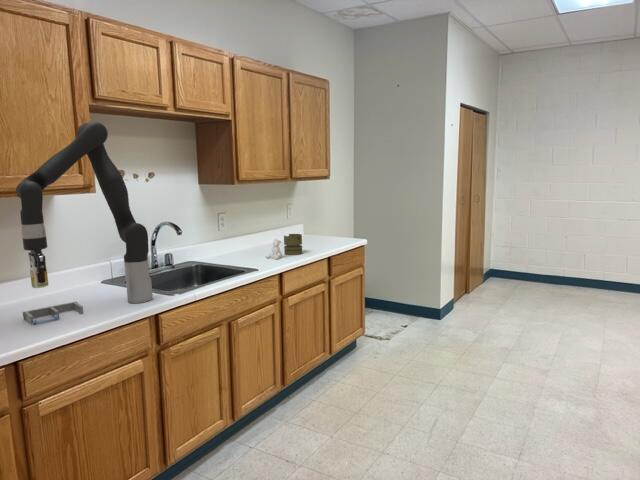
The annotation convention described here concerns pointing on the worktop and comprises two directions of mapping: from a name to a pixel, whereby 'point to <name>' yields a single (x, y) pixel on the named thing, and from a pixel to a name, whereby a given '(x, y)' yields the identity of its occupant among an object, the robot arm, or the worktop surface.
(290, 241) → the olive green ridged block
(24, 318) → the grey two-tier shelf
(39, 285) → the supplement bottle
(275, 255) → the seated beast figurine
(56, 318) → the light blue flat bar
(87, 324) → the worktop surface
